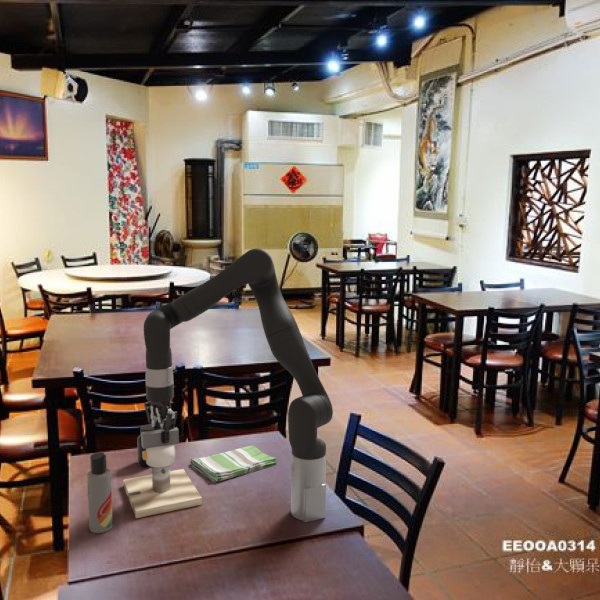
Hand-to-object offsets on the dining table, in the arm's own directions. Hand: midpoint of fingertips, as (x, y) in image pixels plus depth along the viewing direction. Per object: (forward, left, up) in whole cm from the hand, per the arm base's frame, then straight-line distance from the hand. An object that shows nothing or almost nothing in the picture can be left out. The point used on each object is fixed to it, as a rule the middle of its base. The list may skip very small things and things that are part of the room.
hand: (161, 440), depth 167 cm
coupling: (0, 0, -6) cm, 6 cm away
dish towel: (+11, -25, -17) cm, 32 cm away
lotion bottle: (-11, +18, -17) cm, 27 cm away
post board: (0, 0, -16) cm, 16 cm away
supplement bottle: (+23, -1, -17) cm, 28 cm away
